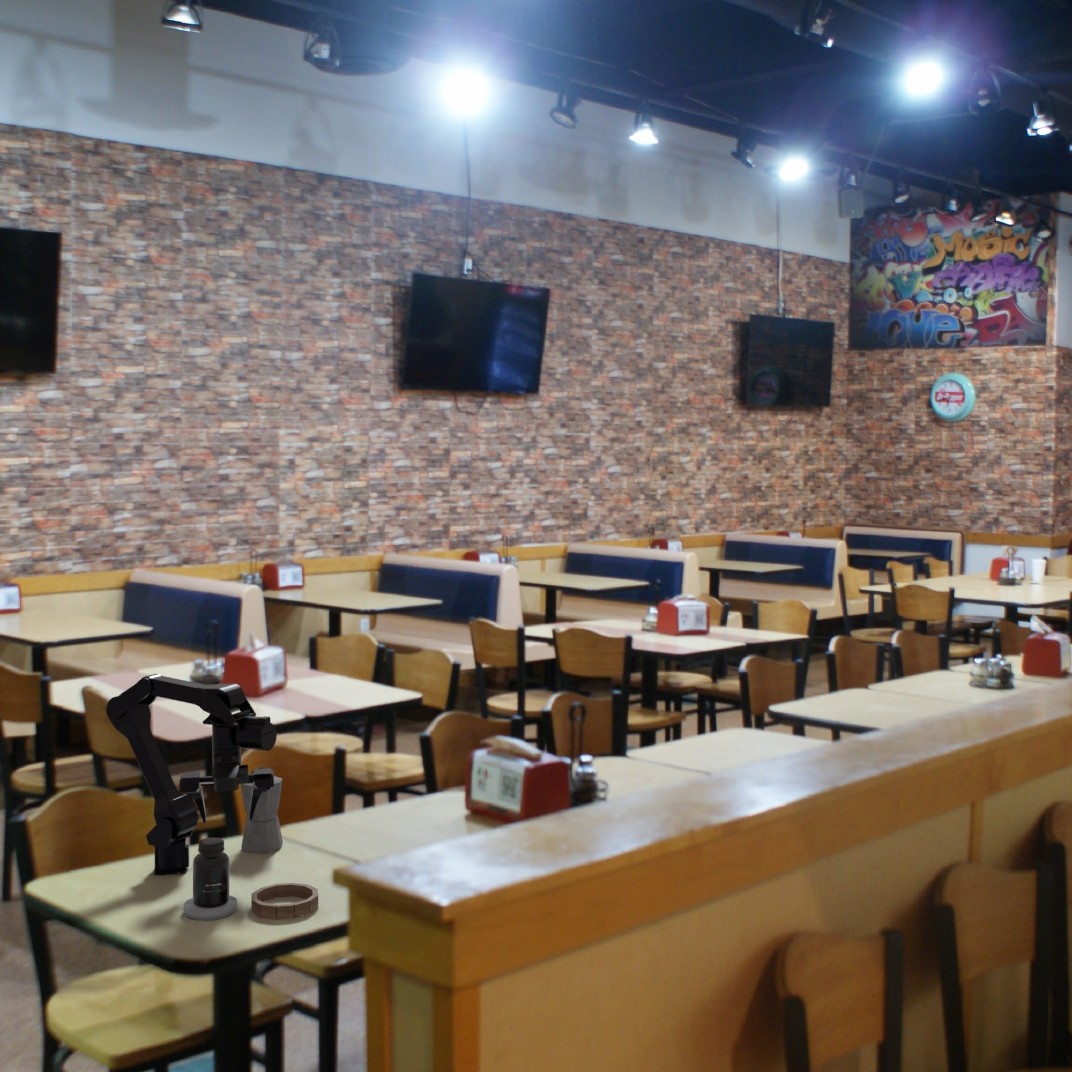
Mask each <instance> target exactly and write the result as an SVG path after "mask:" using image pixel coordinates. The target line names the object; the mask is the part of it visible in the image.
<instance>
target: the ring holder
mask: <svg viewBox="0 0 1072 1072" xmlns="http://www.w3.org/2000/svg"><path fill="white" fill-rule="evenodd" d="M250 895H251V904H250V905H251V914H253V915H255V916H257V917H259V918H262V919H269V920H270V919H271V920H288V919H290V918H291V919H297V918H300V916H301V915H304V916H307V915H306V914H308V915H310V914H312V913H313V912H314V911H316V910H317V909H319V892H318V888H317V887H315V886H312V885H309V884H308V883H307V884H306V883H298V882H297V883H296V882H284V883H274V884H270V885H267V886H263V887H260V888H258V889H257V890H255V891H253V892H252V893H251V894H250ZM297 897H299V898H298V899H305V900H301V901H298V902H293V903H283V904H282V903H281V904H275V903H268V902H267V901H272V900H275V899H280V898H281V899H282V898H283V899H284V898H297ZM311 912H312V913H311ZM309 913H310V914H309ZM301 917H302V916H301Z"/></svg>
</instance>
